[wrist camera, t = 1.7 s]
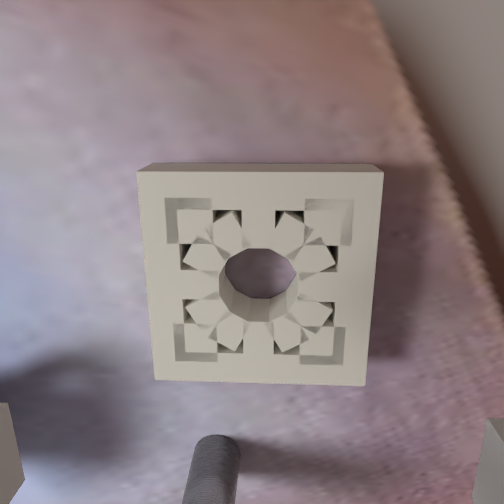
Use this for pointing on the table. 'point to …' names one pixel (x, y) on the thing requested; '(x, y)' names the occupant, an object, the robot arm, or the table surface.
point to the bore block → (260, 236)
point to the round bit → (213, 472)
